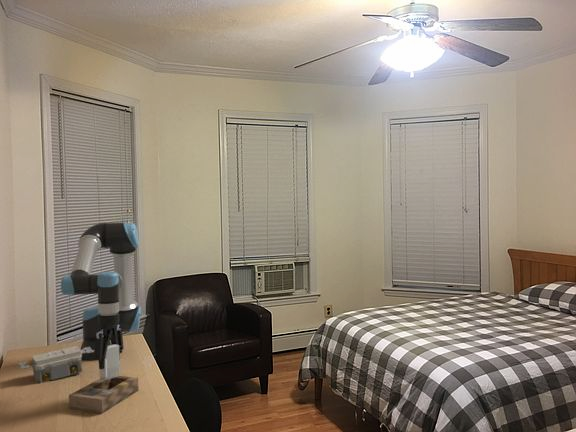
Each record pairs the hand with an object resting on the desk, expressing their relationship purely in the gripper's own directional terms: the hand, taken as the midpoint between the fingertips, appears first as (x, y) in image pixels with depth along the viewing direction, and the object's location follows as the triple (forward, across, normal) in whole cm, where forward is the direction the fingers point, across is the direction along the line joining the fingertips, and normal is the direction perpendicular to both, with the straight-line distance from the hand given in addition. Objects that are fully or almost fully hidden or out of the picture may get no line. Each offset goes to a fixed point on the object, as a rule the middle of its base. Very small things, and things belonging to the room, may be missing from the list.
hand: (109, 373), depth 192 cm
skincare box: (+2, 0, 0) cm, 2 cm away
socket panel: (+9, +3, 0) cm, 9 cm away
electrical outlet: (+9, -13, -36) cm, 39 cm away
